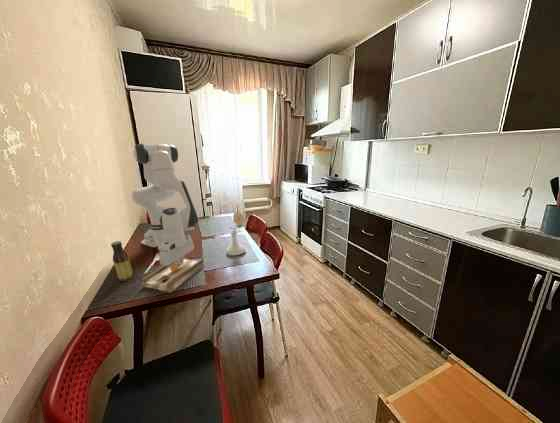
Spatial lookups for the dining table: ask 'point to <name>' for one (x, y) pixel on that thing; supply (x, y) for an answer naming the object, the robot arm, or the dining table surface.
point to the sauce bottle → (121, 262)
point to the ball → (174, 267)
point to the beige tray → (172, 275)
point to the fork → (153, 262)
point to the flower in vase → (235, 247)
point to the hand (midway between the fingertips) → (180, 265)
